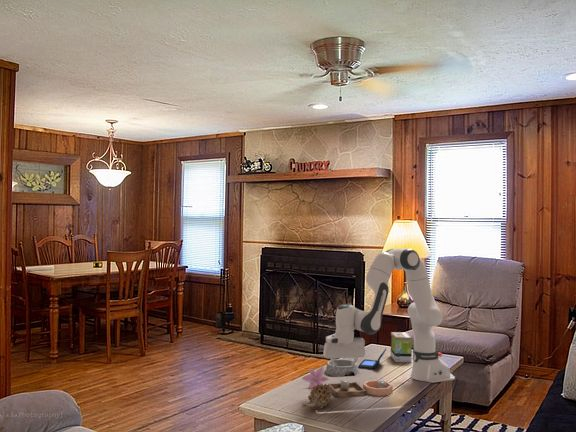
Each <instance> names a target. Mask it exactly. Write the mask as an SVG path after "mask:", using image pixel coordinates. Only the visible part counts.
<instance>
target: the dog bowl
mask: <svg viewBox="0 0 576 432" xmlns="http://www.w3.org/2000/svg"><path fill="white" fill-rule="evenodd" d="M333 361H334V363H336V364H337V365H336V366H337V367H333V363H332V361H331V360H329V361H327V363H326V367H325V370H324V371H325V374H326V375H328V374H329V376H332V377H340V378H343V377H345V375H351V374H354V375H355V376H357V374H358V375H359V374H360V371H359V367H358V362H356V363H355V367H352V366H351V362H353V361H354V360H351V359H345V358H335V360H333Z"/></svg>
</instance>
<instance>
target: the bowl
mask: <svg viewBox="0 0 576 432" xmlns="http://www.w3.org/2000/svg"><path fill="white" fill-rule="evenodd" d="M378 381H381V380H378V379H377V380H367V381H365V382H363V383H362V388H364V389H365V390H366V395H367V394H368V395H372V396H379V397H381V396H389V395H391V394H392V395H393V392H394V389H393V387H394V385H393V384H391V382H388V381H385V382H386V388H378Z"/></svg>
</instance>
